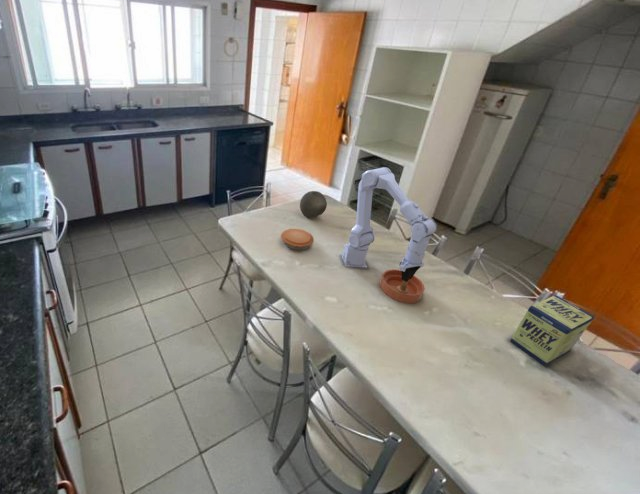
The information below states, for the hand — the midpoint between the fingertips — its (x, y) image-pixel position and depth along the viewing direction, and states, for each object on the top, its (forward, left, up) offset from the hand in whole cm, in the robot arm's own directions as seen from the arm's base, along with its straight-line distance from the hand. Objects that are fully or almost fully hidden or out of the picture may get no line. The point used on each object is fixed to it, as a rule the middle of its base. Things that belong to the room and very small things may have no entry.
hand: (406, 279), depth 124 cm
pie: (-38, +31, -8) cm, 49 cm away
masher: (0, 0, -6) cm, 6 cm away
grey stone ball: (-27, +59, -8) cm, 65 cm away
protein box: (+37, -21, -8) cm, 44 cm away
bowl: (0, +2, -7) cm, 8 cm away
